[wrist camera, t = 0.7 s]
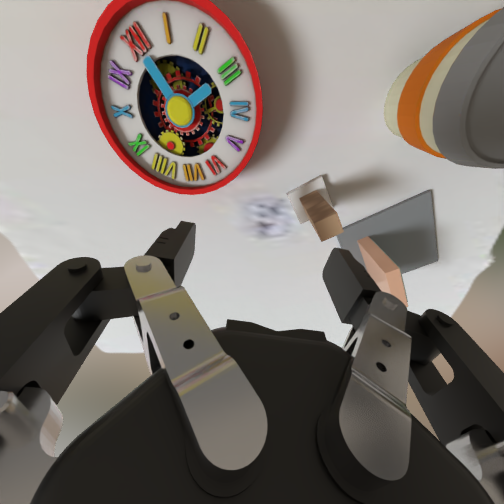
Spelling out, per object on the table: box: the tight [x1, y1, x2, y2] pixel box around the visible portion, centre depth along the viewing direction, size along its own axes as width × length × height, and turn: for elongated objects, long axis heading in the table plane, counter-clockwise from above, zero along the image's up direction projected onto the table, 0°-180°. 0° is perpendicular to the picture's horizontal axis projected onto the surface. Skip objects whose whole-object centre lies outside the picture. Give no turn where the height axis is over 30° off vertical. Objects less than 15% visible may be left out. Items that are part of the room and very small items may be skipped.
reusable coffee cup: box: [384, 8, 504, 169], centre depth 23 cm, size 13×13×15 cm
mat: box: [336, 190, 438, 274], centre depth 41 cm, size 16×16×1 cm
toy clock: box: [87, 0, 263, 195], centre depth 27 cm, size 20×6×20 cm
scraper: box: [286, 175, 344, 241], centre depth 32 cm, size 6×6×11 cm
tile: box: [357, 236, 408, 307], centre depth 38 cm, size 2×9×10 cm, turn 29°
